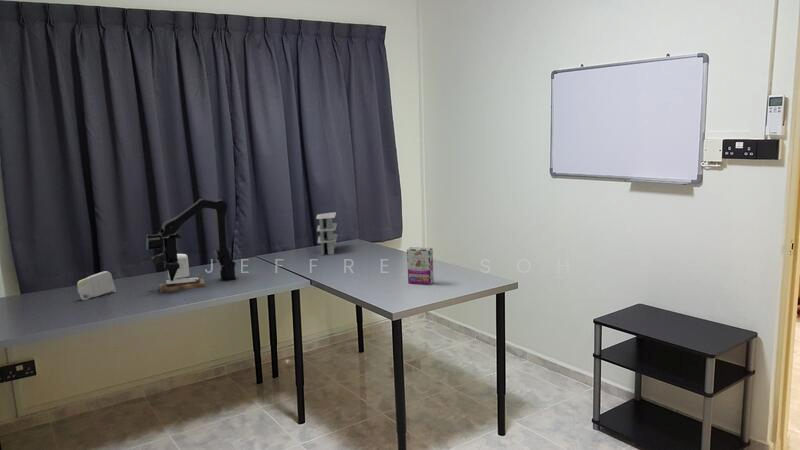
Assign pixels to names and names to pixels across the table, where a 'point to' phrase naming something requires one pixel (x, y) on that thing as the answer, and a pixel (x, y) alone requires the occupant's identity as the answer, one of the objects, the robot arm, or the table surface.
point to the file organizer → (327, 232)
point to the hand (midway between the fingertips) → (171, 280)
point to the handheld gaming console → (96, 285)
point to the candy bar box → (420, 265)
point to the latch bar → (181, 280)
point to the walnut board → (181, 285)
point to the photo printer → (182, 267)
